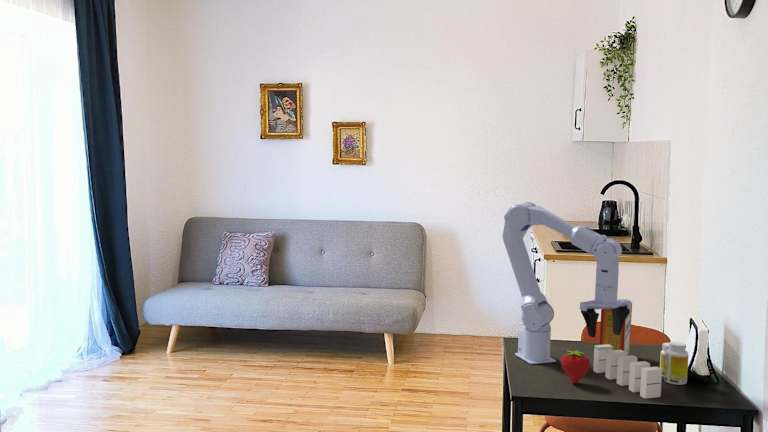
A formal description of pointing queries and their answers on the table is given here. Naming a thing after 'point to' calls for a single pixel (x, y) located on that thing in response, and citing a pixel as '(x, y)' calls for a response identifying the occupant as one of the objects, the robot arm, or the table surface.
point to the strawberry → (575, 365)
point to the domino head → (600, 357)
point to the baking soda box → (612, 339)
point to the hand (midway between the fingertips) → (604, 335)
